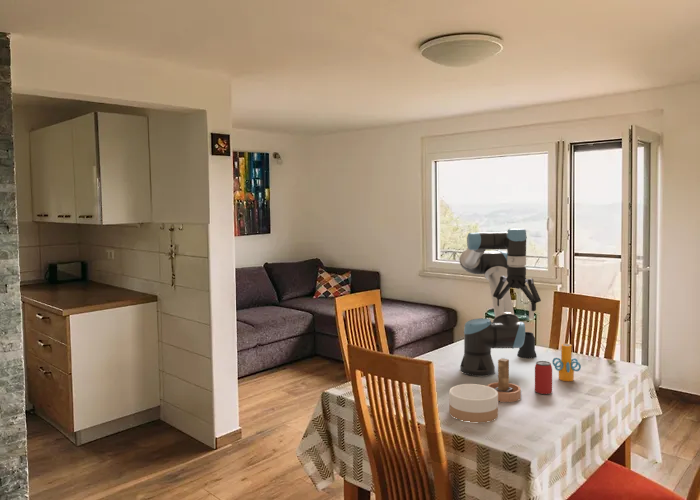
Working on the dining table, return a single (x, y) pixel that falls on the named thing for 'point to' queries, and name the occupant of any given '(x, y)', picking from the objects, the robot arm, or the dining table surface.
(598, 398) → the dining table surface
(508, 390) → the clip
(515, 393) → the shallow terracotta dish
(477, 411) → the bowl
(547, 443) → the dining table surface
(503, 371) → the tall wooden post
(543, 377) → the beer can
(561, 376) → the cylinder
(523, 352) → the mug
